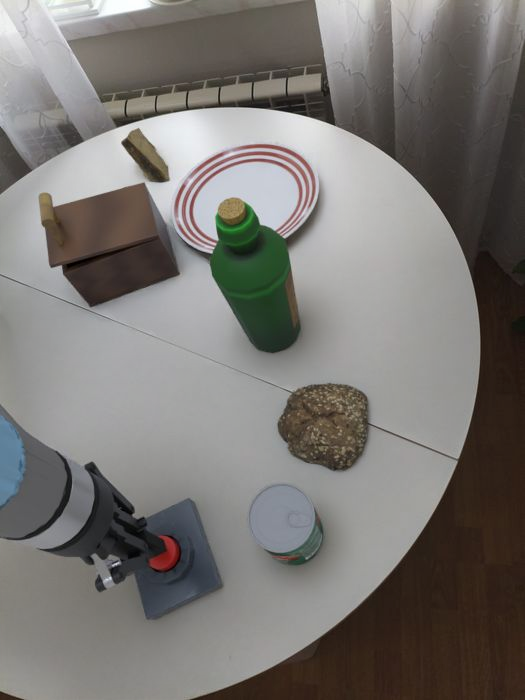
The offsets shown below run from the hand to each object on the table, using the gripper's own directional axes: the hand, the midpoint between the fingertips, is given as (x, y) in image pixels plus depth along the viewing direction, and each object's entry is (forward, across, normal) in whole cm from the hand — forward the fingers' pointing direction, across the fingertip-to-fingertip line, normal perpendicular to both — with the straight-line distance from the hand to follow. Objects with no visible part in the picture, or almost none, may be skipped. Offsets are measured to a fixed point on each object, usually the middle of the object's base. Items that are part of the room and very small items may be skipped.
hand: (155, 550), depth 68 cm
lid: (-4, -52, +7) cm, 53 cm away
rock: (+7, -74, +20) cm, 77 cm away
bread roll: (+7, -8, +26) cm, 28 cm away
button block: (+7, 0, 0) cm, 7 cm away
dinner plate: (+7, -53, +32) cm, 62 cm away
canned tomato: (+7, +4, +16) cm, 18 cm away
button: (+4, 0, 0) cm, 4 cm away
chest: (+7, -52, +8) cm, 53 cm away
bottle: (+7, -26, +26) cm, 38 cm away
